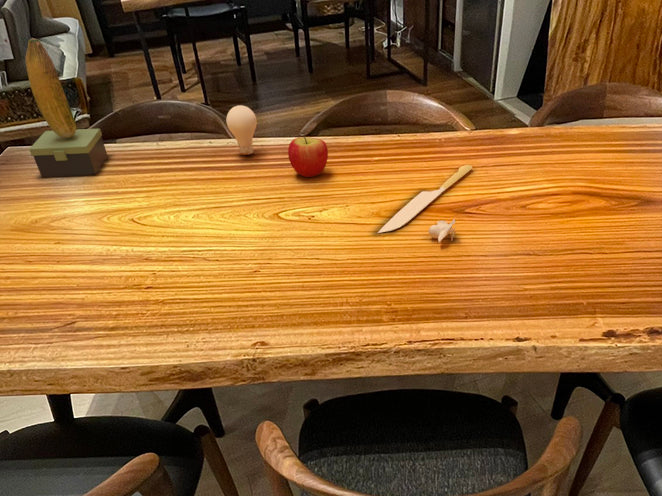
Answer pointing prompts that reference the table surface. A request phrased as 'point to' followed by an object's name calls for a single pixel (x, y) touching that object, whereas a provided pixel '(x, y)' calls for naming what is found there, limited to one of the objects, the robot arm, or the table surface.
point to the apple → (308, 155)
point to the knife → (421, 202)
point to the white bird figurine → (442, 229)
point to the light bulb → (242, 127)
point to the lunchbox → (69, 153)
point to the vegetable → (48, 90)
